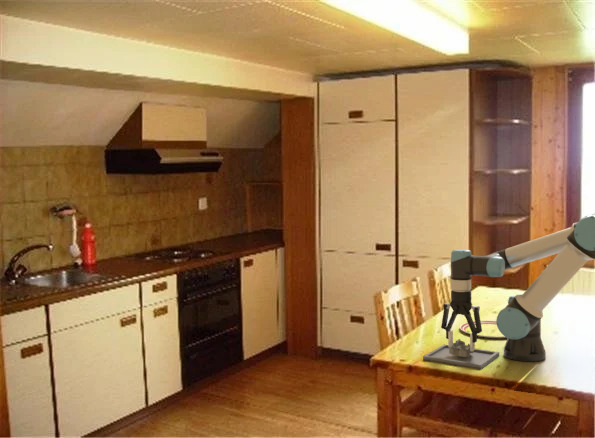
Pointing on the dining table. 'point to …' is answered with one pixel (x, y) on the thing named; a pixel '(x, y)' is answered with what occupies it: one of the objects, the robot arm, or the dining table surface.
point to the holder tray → (472, 361)
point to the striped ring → (465, 325)
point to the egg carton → (460, 348)
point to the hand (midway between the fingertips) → (461, 348)
